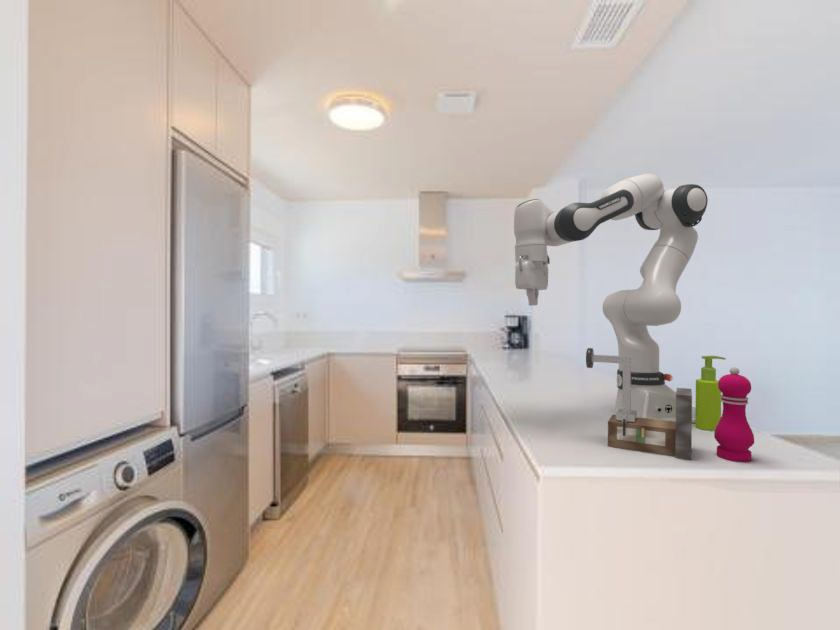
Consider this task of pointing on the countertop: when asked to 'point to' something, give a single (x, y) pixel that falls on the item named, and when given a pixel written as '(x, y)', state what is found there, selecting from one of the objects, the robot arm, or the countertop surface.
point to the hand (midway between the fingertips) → (533, 305)
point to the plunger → (625, 412)
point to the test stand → (657, 431)
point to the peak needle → (642, 432)
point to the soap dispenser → (708, 397)
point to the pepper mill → (734, 418)
